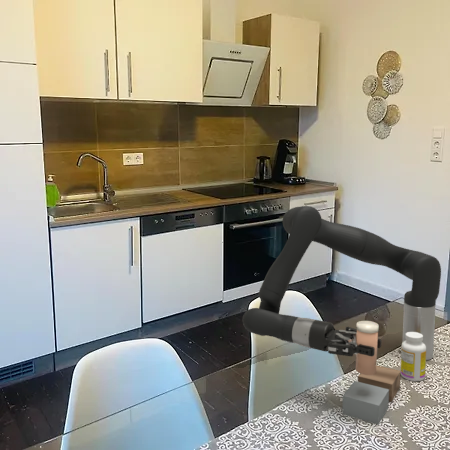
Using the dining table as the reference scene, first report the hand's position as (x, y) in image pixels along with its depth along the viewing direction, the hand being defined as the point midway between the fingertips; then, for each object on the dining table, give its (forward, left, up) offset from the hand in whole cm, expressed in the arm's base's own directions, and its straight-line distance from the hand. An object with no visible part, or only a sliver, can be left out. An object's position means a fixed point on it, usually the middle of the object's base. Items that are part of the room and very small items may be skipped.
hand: (377, 347), depth 116 cm
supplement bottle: (-25, +3, -18) cm, 31 cm away
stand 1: (-12, -3, -18) cm, 21 cm away
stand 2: (0, -3, -18) cm, 18 cm away
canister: (0, -3, -6) cm, 7 cm away
